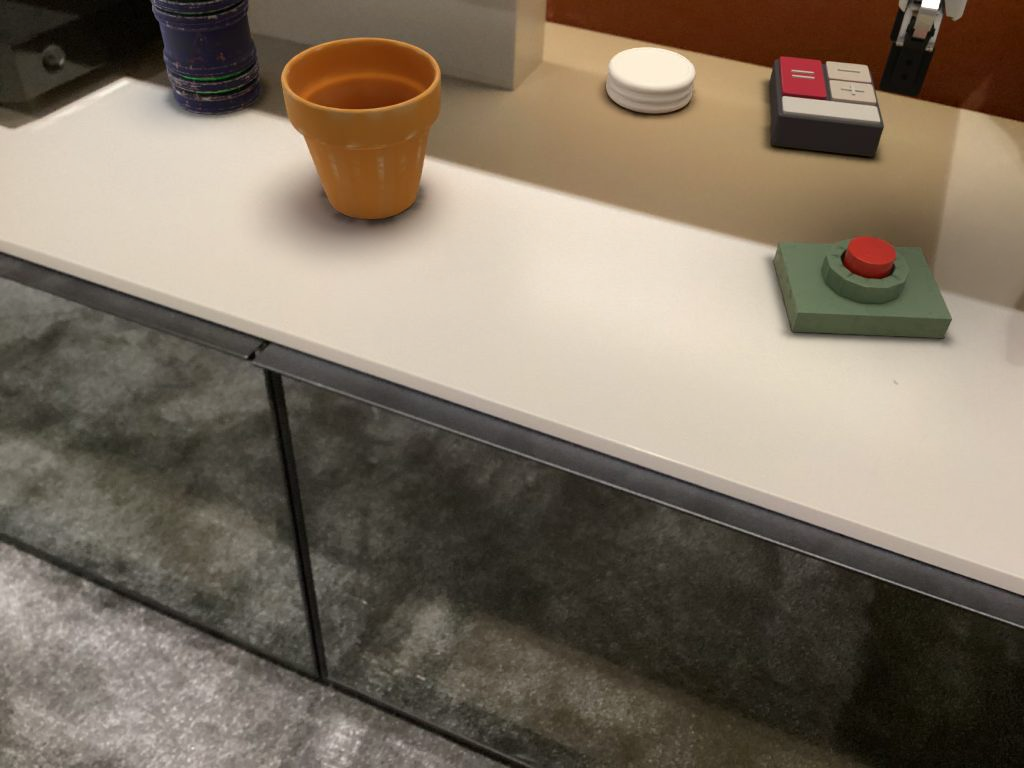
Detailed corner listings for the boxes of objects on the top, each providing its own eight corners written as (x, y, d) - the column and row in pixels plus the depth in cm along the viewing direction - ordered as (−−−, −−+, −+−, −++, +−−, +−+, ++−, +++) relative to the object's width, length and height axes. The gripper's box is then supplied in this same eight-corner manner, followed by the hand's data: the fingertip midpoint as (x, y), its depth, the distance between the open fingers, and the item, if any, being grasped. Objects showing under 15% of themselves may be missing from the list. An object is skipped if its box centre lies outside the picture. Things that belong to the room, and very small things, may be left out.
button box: (912, 266, 90) (927, 231, 87) (943, 338, 82) (960, 302, 80) (773, 260, 90) (783, 225, 87) (792, 331, 83) (803, 295, 80)
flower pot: (269, 200, 94) (246, 75, 85) (369, 141, 102) (359, 22, 93) (375, 255, 88) (363, 128, 79) (472, 189, 97) (472, 67, 87)
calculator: (872, 62, 111) (887, 120, 100) (861, 97, 114) (875, 157, 103) (775, 51, 112) (779, 108, 101) (767, 86, 115) (771, 145, 104)
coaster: (696, 117, 108) (702, 88, 106) (608, 114, 108) (611, 85, 106) (686, 74, 115) (690, 46, 113) (603, 72, 115) (606, 43, 113)
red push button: (883, 253, 85) (889, 236, 84) (895, 281, 82) (901, 265, 81) (838, 251, 85) (843, 235, 84) (848, 279, 82) (854, 263, 81)
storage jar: (252, 66, 114) (230, -65, 103) (272, 105, 107) (251, -31, 97) (166, 80, 111) (133, -54, 100) (181, 121, 104) (149, -17, 94)
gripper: (1032, -112, 63) (943, 123, 75) (1030, -180, 75) (953, 33, 87) (914, -129, 65) (845, 103, 77) (930, -192, 77) (868, 18, 89)
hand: (903, 66), depth 82 cm, fingers open, 9 cm apart
